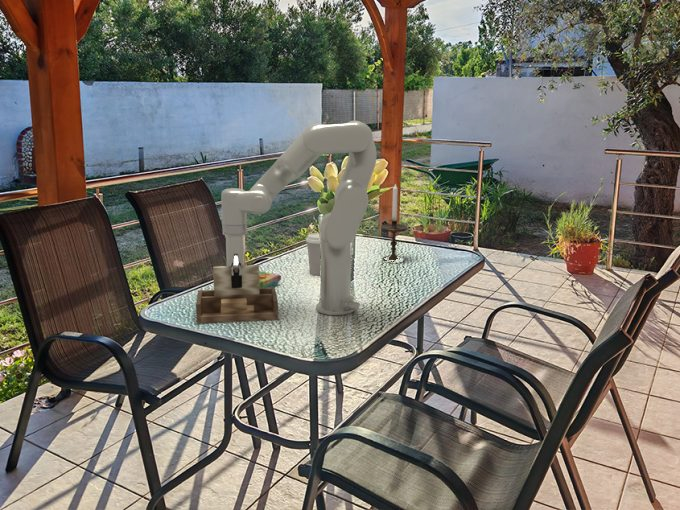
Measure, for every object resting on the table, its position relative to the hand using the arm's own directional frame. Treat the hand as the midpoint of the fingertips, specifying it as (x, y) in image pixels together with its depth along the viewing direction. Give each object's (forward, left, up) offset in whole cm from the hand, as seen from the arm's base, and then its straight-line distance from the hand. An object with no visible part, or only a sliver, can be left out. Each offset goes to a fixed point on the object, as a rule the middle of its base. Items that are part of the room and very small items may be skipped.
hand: (236, 283), depth 204 cm
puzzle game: (+14, -21, -10) cm, 27 cm away
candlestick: (-6, -85, -10) cm, 86 cm away
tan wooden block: (-5, +4, -8) cm, 11 cm away
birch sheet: (0, 0, -8) cm, 8 cm away
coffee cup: (+7, -51, -10) cm, 52 cm away
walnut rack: (-3, +3, -9) cm, 11 cm away
